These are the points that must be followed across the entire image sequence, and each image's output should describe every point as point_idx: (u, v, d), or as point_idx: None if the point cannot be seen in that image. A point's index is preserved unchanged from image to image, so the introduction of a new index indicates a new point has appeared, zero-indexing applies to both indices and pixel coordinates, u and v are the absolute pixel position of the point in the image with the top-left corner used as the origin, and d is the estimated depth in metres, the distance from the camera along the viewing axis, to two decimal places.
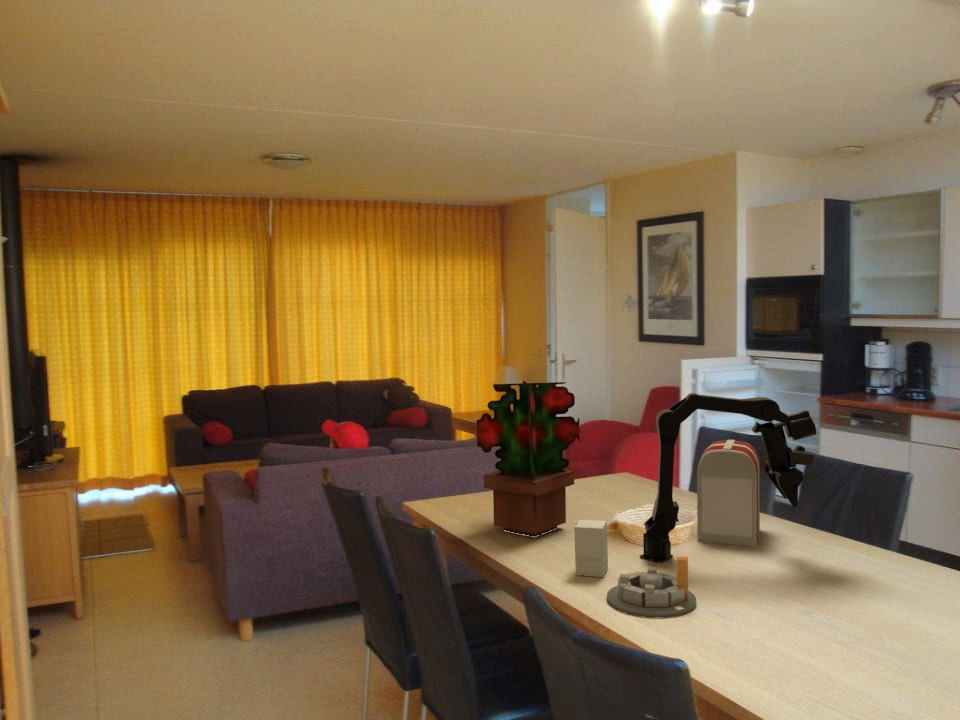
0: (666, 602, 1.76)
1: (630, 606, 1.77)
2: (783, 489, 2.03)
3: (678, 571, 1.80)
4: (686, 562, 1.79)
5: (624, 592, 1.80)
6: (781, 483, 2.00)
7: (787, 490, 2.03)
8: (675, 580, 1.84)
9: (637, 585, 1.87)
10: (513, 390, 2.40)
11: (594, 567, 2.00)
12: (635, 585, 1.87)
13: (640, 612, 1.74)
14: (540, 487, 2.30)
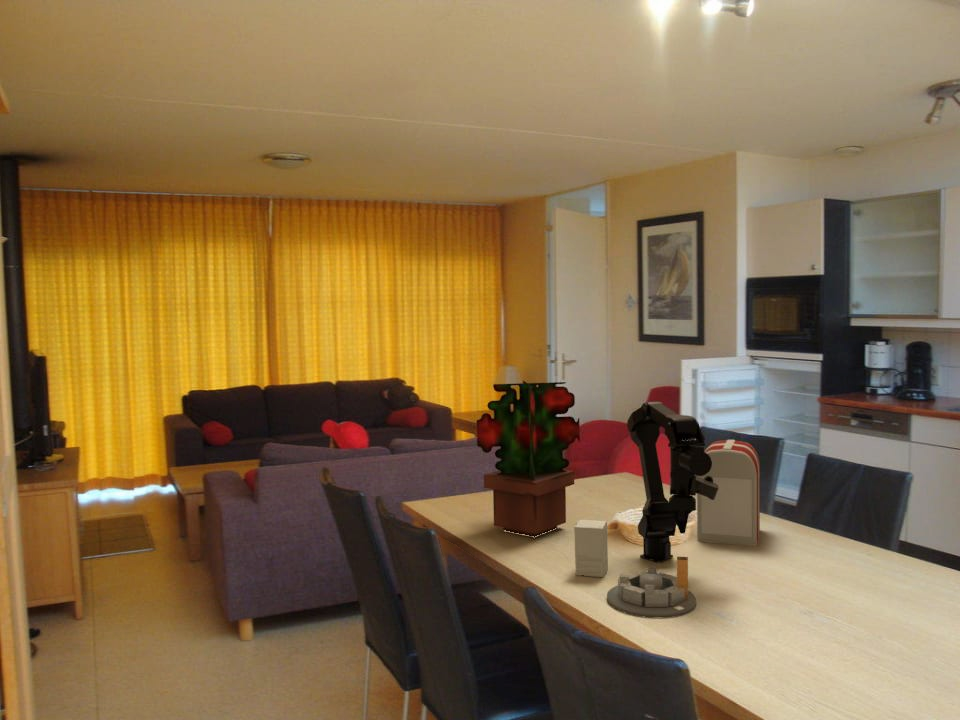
0: (666, 602, 1.76)
1: (630, 606, 1.77)
2: (673, 512, 1.93)
3: (678, 571, 1.80)
4: (686, 562, 1.79)
5: (624, 592, 1.80)
6: (670, 507, 1.89)
7: (677, 514, 1.93)
8: (675, 580, 1.84)
9: (637, 585, 1.87)
10: (513, 390, 2.40)
11: (594, 567, 2.00)
12: (635, 585, 1.87)
13: (640, 612, 1.74)
14: (540, 487, 2.30)
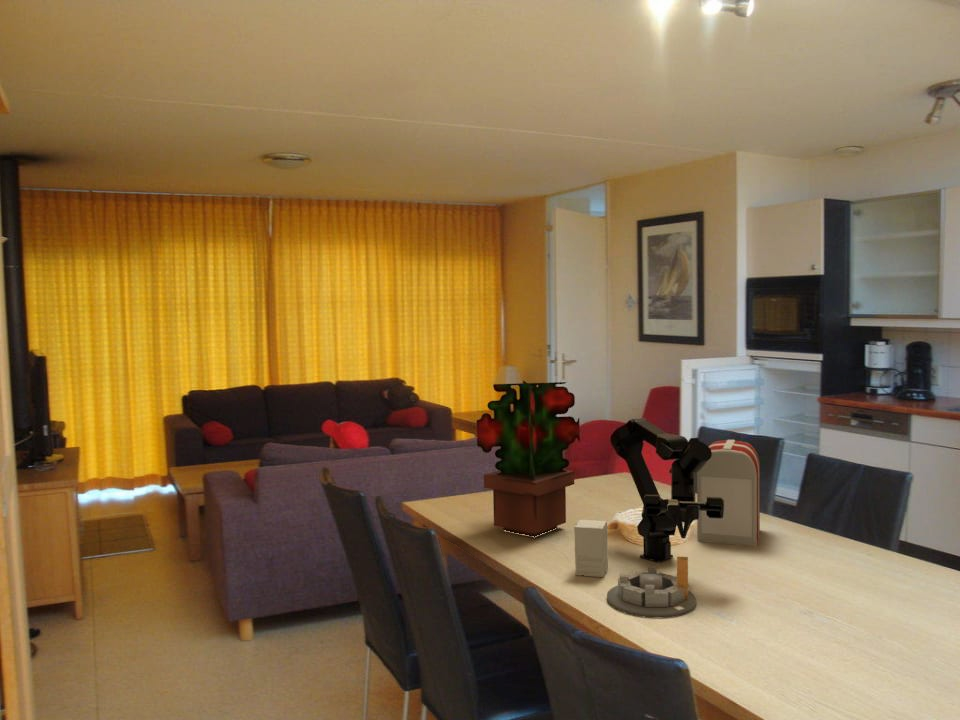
0: (666, 602, 1.76)
1: (630, 606, 1.77)
2: None
3: (678, 571, 1.80)
4: (686, 562, 1.79)
5: (624, 592, 1.80)
6: (723, 504, 1.89)
7: None
8: (675, 580, 1.84)
9: (637, 585, 1.87)
10: (513, 390, 2.40)
11: (594, 567, 2.00)
12: (635, 585, 1.87)
13: (640, 612, 1.74)
14: (540, 487, 2.30)
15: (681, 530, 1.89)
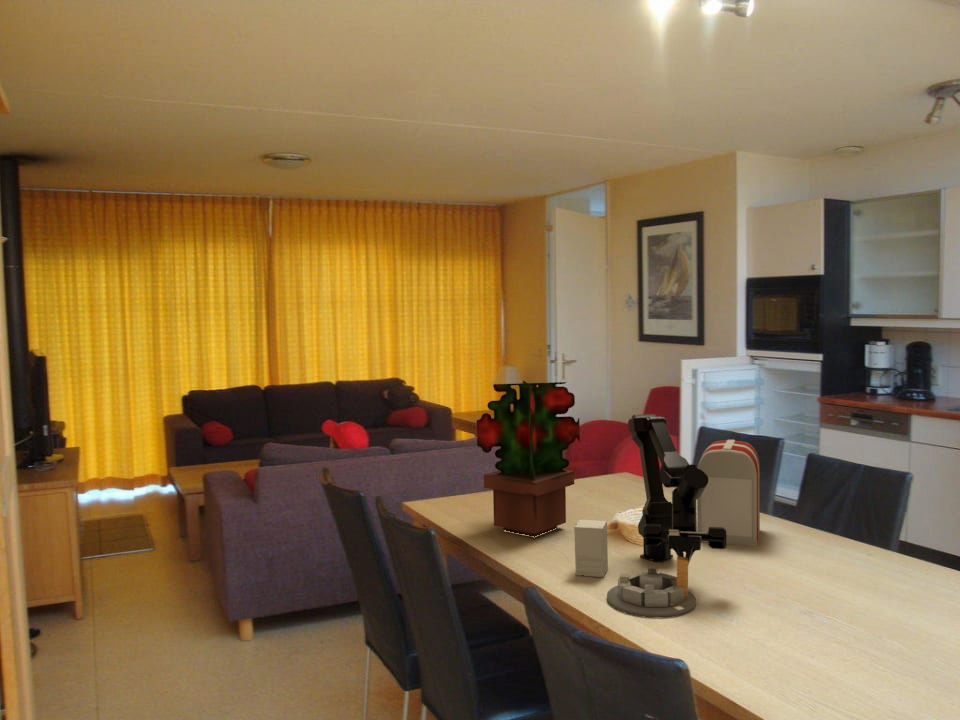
0: (666, 602, 1.76)
1: (630, 606, 1.77)
2: None
3: (678, 571, 1.80)
4: (686, 562, 1.79)
5: (624, 592, 1.80)
6: (725, 534, 1.83)
7: None
8: (675, 580, 1.84)
9: (637, 585, 1.88)
10: (513, 390, 2.40)
11: (594, 567, 2.00)
12: (635, 585, 1.87)
13: (640, 612, 1.74)
14: (540, 487, 2.30)
15: None
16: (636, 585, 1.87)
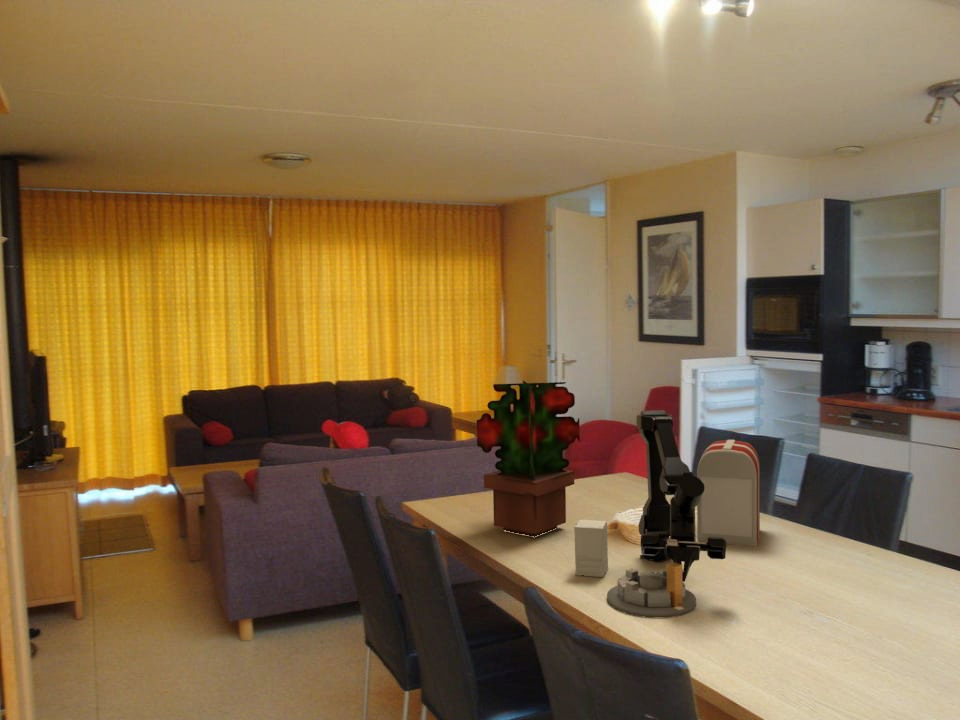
0: (642, 602, 1.76)
1: (630, 606, 1.77)
2: None
3: (667, 575, 1.77)
4: (673, 568, 1.75)
5: (618, 584, 1.85)
6: (725, 545, 1.78)
7: None
8: None
9: None
10: (513, 390, 2.40)
11: (594, 567, 2.00)
12: None
13: (640, 612, 1.74)
14: (540, 487, 2.30)
15: None
16: None
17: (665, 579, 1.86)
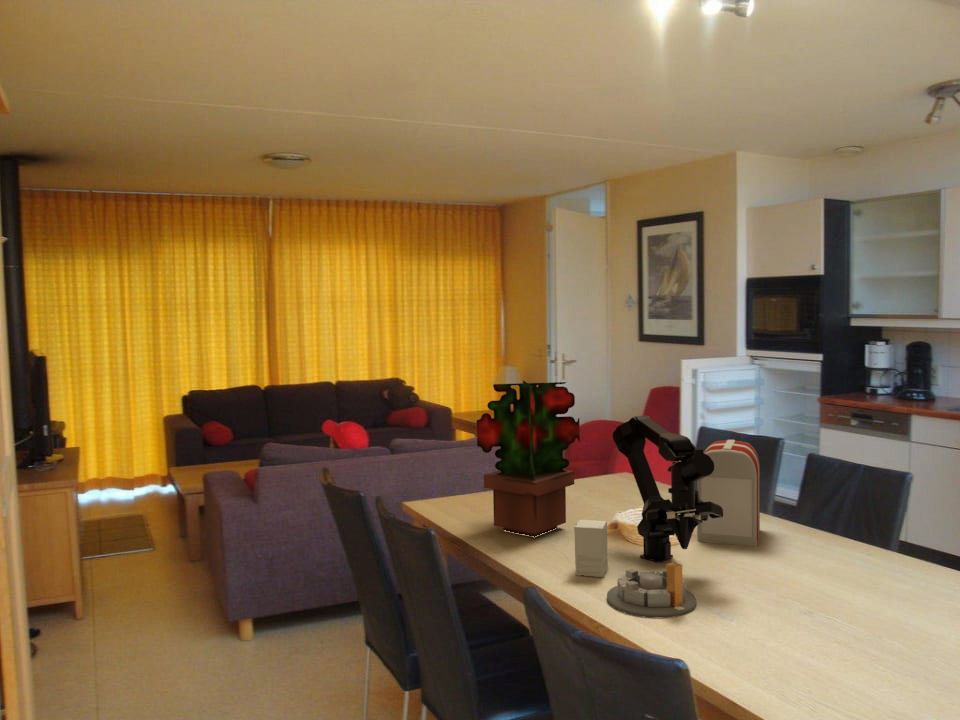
0: (642, 602, 1.76)
1: (630, 606, 1.77)
2: None
3: (667, 575, 1.77)
4: (673, 568, 1.75)
5: (618, 584, 1.85)
6: (710, 509, 1.88)
7: (687, 526, 1.93)
8: None
9: None
10: (513, 390, 2.40)
11: (594, 567, 2.00)
12: None
13: (640, 612, 1.74)
14: (540, 487, 2.30)
15: (680, 542, 1.93)
16: None
17: (665, 579, 1.86)
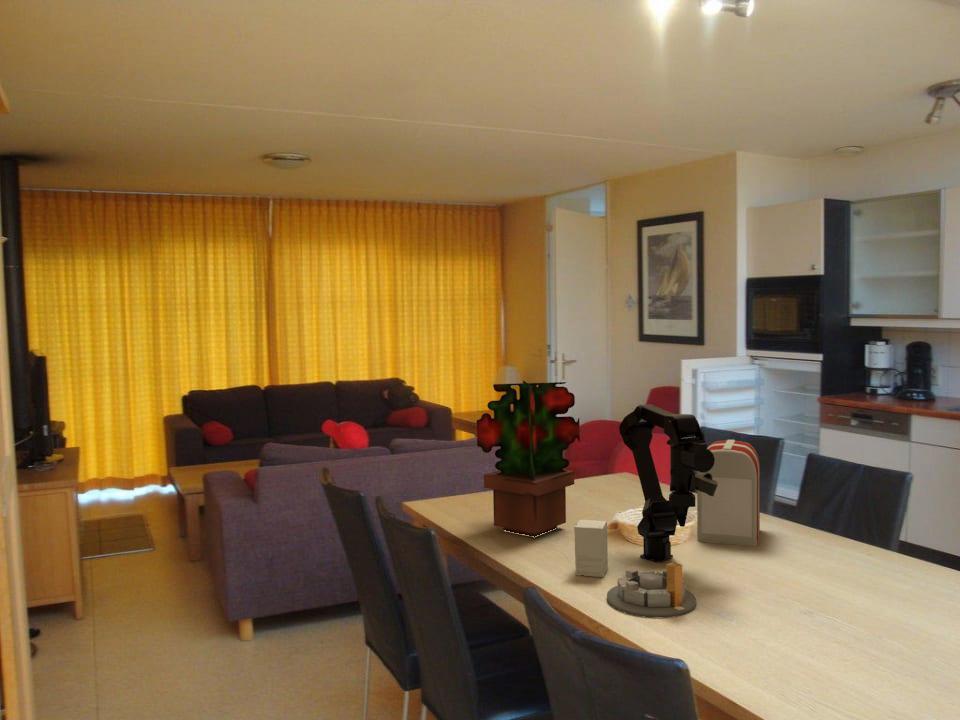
0: (642, 602, 1.76)
1: (630, 606, 1.77)
2: (673, 506, 1.99)
3: (667, 575, 1.77)
4: (673, 568, 1.75)
5: (618, 584, 1.85)
6: (670, 503, 1.92)
7: (677, 508, 1.99)
8: None
9: None
10: (513, 390, 2.40)
11: (594, 567, 2.00)
12: None
13: (640, 612, 1.74)
14: (540, 487, 2.30)
15: None
16: None
17: (665, 579, 1.86)
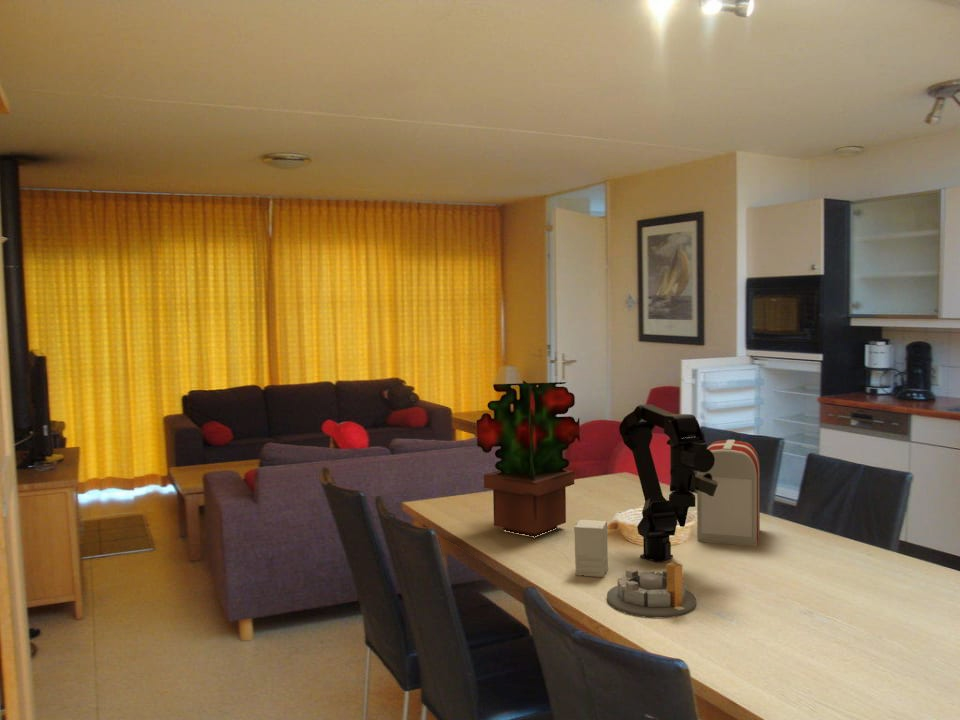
0: (642, 602, 1.76)
1: (630, 606, 1.77)
2: (673, 506, 1.99)
3: (667, 575, 1.77)
4: (673, 568, 1.75)
5: (618, 584, 1.85)
6: (670, 503, 1.92)
7: (677, 508, 1.99)
8: None
9: None
10: (513, 390, 2.40)
11: (594, 567, 2.00)
12: None
13: (640, 612, 1.74)
14: (540, 487, 2.30)
15: None
16: None
17: (665, 579, 1.86)
